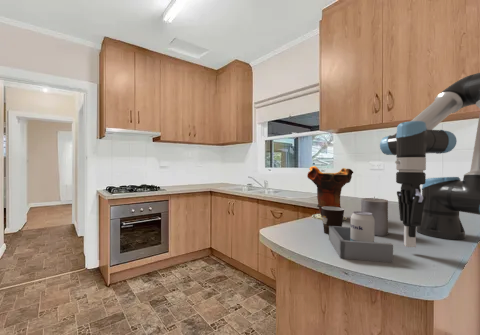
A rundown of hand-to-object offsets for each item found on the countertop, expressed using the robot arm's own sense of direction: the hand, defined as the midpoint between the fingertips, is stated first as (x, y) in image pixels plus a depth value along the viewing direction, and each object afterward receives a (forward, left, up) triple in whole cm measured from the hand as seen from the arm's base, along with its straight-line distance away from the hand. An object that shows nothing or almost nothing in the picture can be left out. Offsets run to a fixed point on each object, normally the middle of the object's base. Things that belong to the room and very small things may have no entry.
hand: (409, 246), depth 75 cm
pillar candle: (+3, -23, -2) cm, 23 cm away
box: (+16, 0, -2) cm, 16 cm away
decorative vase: (+16, -50, -2) cm, 52 cm away
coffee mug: (+20, -20, -2) cm, 28 cm away
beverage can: (+14, 0, -2) cm, 14 cm away
